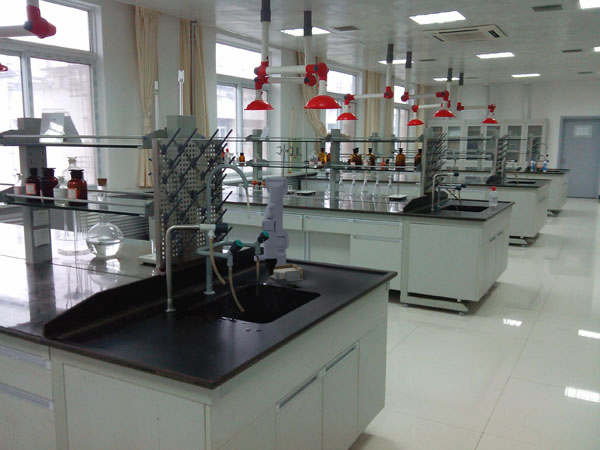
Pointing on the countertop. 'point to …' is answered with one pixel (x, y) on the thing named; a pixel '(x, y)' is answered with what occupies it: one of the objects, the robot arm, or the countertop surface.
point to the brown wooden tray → (290, 267)
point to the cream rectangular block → (281, 273)
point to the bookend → (293, 275)
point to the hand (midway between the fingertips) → (270, 275)
